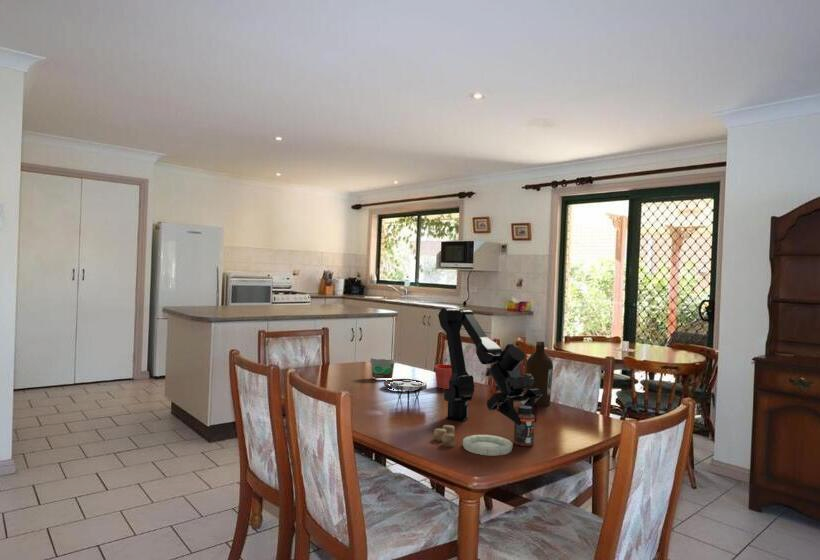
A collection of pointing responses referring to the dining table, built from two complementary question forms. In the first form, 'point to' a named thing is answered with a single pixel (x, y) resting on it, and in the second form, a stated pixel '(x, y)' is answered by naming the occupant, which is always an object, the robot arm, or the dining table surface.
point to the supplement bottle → (524, 427)
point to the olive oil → (540, 373)
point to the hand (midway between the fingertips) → (527, 423)
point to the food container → (382, 368)
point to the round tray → (487, 445)
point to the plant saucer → (397, 380)
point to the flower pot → (443, 375)
